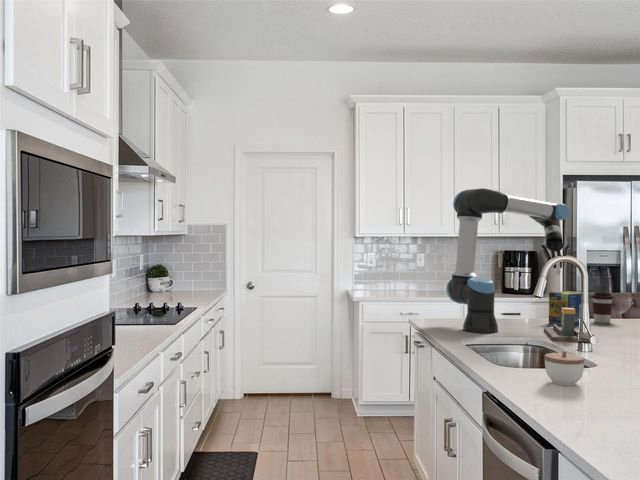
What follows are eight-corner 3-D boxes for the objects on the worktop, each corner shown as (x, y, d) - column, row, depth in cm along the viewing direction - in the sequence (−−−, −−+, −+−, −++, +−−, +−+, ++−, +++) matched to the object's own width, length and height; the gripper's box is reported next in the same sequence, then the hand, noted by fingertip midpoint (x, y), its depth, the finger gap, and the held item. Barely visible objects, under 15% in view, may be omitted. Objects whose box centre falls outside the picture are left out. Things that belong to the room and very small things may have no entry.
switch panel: (552, 340, 236) (552, 332, 236) (544, 330, 261) (544, 323, 261) (589, 342, 233) (589, 333, 233) (577, 332, 258) (577, 324, 258)
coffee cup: (608, 320, 294) (608, 291, 294) (616, 323, 284) (616, 293, 284) (588, 320, 295) (588, 291, 295) (595, 323, 285) (595, 293, 285)
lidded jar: (564, 389, 161) (565, 355, 161) (536, 380, 171) (536, 348, 171) (592, 385, 165) (593, 353, 165) (563, 377, 175) (563, 346, 175)
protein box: (548, 323, 283) (548, 292, 283) (567, 321, 292) (567, 290, 292) (567, 326, 275) (567, 294, 274) (586, 324, 283) (586, 292, 283)
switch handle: (563, 335, 239) (563, 308, 239) (561, 333, 244) (561, 307, 244) (575, 335, 238) (575, 309, 238) (573, 334, 243) (573, 308, 243)
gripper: (566, 242, 284) (572, 278, 268) (538, 241, 287) (542, 277, 271) (568, 231, 279) (574, 267, 263) (540, 231, 282) (544, 266, 266)
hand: (558, 272), depth 267 cm, fingers closed
